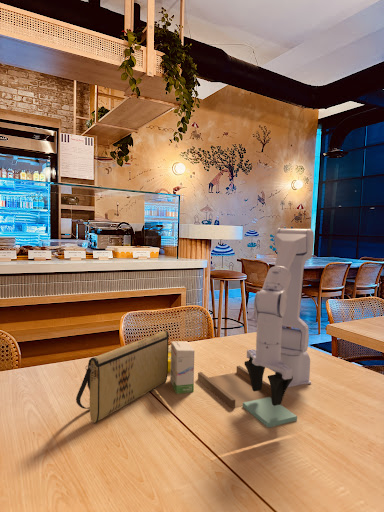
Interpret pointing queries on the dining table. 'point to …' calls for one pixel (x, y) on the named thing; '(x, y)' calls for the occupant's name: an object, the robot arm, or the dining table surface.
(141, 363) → the clutch purse
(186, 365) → the ink box
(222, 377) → the walnut tray
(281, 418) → the teal plate
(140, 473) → the dining table surface
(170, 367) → the element tile
